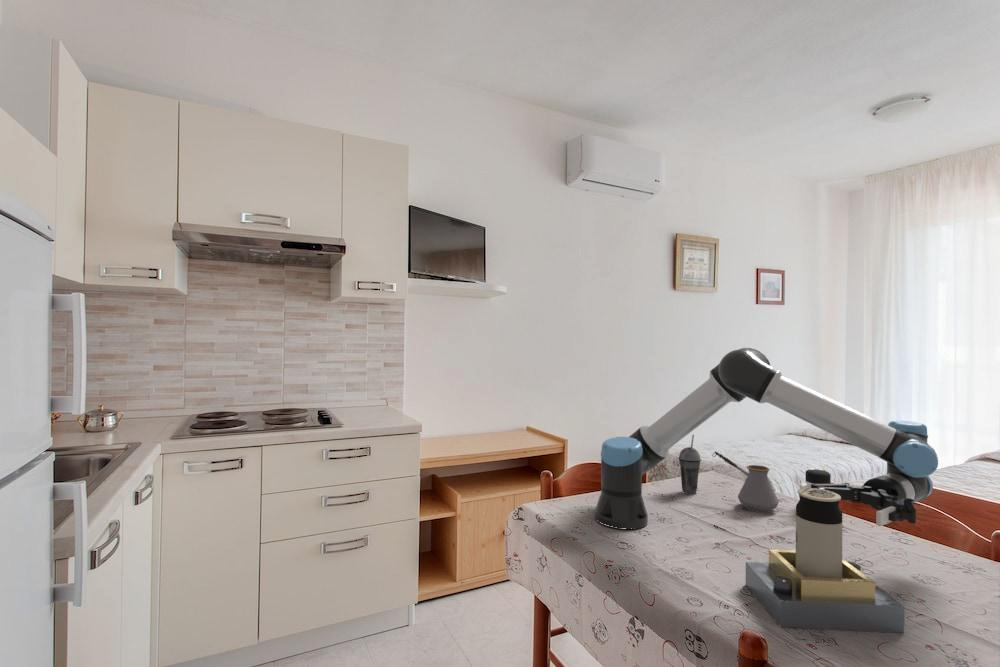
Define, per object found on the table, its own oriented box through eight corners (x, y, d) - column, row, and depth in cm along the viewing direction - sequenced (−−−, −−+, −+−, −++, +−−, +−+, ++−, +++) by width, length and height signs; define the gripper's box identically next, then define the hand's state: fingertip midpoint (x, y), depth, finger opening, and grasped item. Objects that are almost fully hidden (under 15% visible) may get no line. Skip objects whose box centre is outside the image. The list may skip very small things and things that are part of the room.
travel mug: (849, 584, 101) (849, 494, 101) (831, 596, 96) (832, 502, 96) (806, 569, 107) (806, 485, 107) (788, 579, 103) (788, 491, 103)
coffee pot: (785, 510, 157) (786, 462, 157) (765, 517, 151) (766, 467, 151) (723, 491, 175) (723, 448, 175) (702, 497, 169) (703, 453, 169)
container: (837, 517, 151) (837, 474, 151) (808, 515, 153) (809, 473, 153) (826, 509, 159) (826, 467, 159) (799, 507, 160) (799, 466, 160)
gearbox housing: (780, 627, 95) (781, 582, 95) (745, 584, 111) (745, 546, 111) (904, 633, 93) (904, 587, 93) (850, 588, 109) (850, 549, 109)
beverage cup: (674, 489, 177) (675, 432, 177) (694, 489, 178) (695, 432, 178) (683, 496, 170) (684, 437, 170) (704, 495, 171) (705, 436, 171)
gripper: (956, 527, 106) (912, 548, 96) (829, 493, 128) (782, 507, 117) (957, 491, 106) (913, 509, 95) (830, 463, 128) (782, 475, 117)
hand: (841, 508), depth 106 cm, fingers open, 13 cm apart
